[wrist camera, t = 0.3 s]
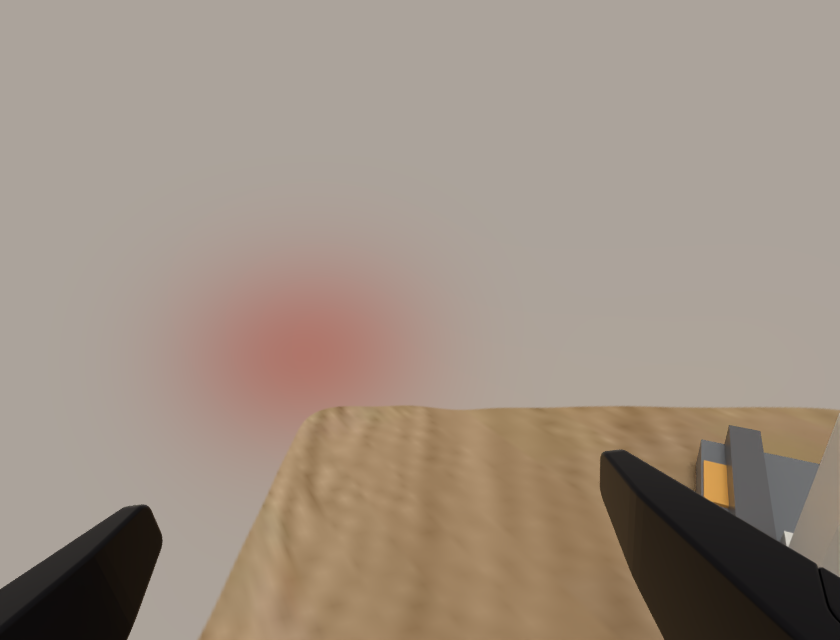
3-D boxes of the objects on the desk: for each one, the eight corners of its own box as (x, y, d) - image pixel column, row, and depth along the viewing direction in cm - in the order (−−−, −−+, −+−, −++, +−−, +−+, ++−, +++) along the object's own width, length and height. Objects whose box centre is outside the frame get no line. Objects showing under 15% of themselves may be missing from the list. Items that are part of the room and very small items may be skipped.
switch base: (1123, 980, 12) (1211, 948, 11) (692, 764, 17) (708, 720, 15) (913, 513, 24) (939, 465, 23) (696, 463, 29) (705, 420, 27)
